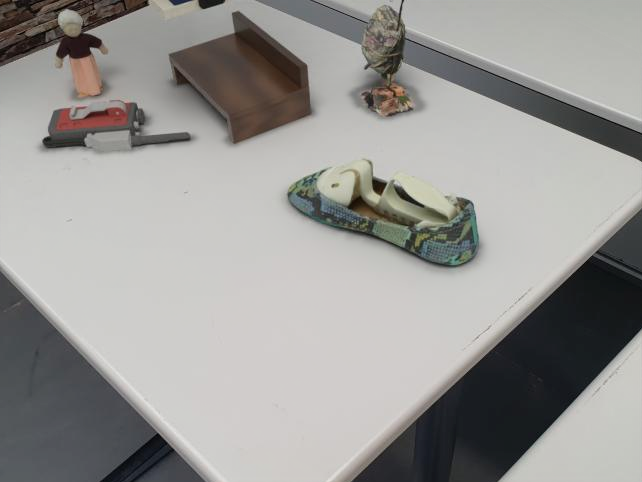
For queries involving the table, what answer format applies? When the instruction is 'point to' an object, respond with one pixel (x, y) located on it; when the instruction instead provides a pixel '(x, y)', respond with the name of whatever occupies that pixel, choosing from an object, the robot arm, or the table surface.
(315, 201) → the ballet flat
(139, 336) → the table surface
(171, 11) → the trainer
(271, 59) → the shoe shelf
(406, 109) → the plant with pod
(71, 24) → the grandmother figurine
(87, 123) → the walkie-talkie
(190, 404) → the table surface
